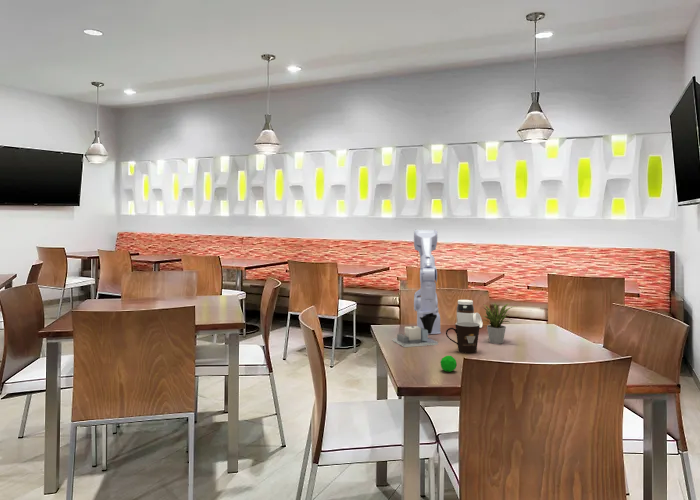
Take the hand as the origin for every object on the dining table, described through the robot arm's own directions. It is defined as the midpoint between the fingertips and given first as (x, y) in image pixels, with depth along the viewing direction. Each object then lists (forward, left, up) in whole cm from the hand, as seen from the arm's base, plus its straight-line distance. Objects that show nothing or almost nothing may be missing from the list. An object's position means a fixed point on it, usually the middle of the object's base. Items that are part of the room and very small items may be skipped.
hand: (428, 333), depth 203 cm
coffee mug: (-5, +18, -4) cm, 19 cm away
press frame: (+6, 0, -3) cm, 7 cm away
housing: (+6, 0, -2) cm, 7 cm away
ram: (+3, 0, -2) cm, 3 cm away
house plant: (-26, +9, -4) cm, 28 cm away
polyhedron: (+12, +40, -4) cm, 42 cm away
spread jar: (-31, -23, -4) cm, 39 cm away
